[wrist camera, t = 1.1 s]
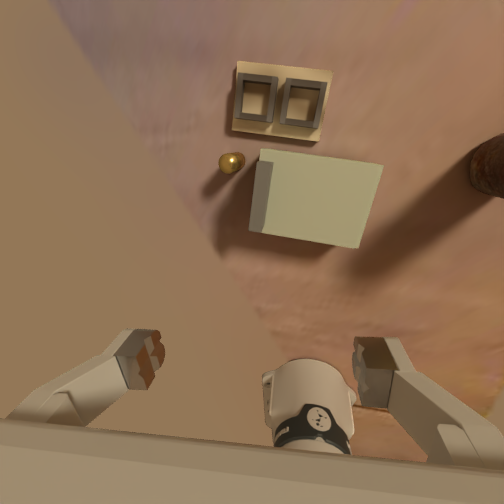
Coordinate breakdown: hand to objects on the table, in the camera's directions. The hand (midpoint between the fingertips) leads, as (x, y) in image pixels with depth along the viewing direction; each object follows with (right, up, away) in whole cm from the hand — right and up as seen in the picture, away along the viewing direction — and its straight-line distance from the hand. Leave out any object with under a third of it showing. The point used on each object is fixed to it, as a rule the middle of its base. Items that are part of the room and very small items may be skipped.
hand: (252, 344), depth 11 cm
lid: (+8, +12, +26) cm, 30 cm away
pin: (-2, +17, +28) cm, 33 cm away
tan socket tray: (+4, +24, +24) cm, 34 cm away
